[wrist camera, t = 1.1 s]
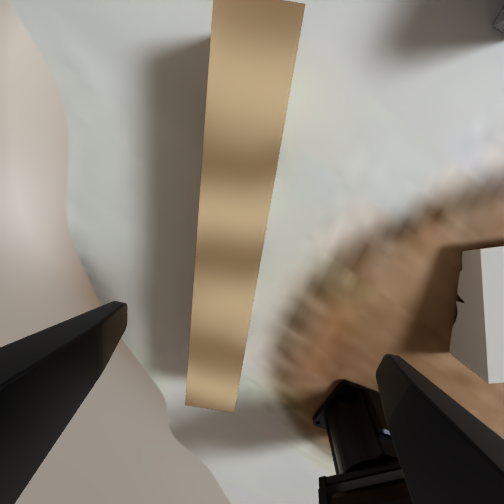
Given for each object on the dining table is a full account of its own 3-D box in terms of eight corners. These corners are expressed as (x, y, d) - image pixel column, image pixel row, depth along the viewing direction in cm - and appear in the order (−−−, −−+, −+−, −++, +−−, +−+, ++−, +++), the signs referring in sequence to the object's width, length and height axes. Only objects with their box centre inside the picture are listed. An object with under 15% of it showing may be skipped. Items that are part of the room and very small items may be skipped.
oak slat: (239, 364, 26) (234, 412, 21) (199, 358, 26) (185, 405, 21) (294, 43, 16) (305, 4, 12) (229, 33, 16) (214, -11, 12)
